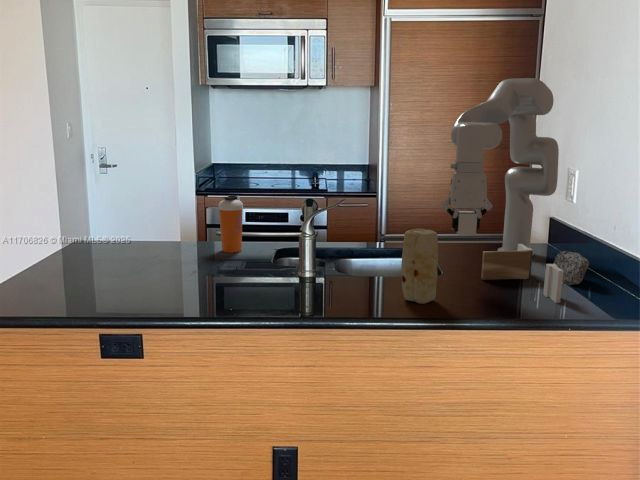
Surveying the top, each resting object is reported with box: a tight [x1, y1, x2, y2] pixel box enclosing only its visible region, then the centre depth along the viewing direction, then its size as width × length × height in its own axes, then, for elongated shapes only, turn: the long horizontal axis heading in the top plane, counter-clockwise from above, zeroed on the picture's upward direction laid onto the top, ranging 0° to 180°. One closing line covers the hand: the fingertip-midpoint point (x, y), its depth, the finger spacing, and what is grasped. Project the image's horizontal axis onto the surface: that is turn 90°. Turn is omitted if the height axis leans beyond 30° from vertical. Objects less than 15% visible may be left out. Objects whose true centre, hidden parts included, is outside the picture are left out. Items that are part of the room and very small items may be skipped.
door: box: [480, 250, 534, 281], centre depth 181 cm, size 3×16×9 cm, turn 96°
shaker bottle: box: [218, 195, 244, 254], centre depth 213 cm, size 9×9×20 cm
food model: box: [400, 228, 439, 305], centre depth 158 cm, size 10×7×20 cm
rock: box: [552, 250, 590, 286], centre depth 180 cm, size 16×8×10 cm, turn 173°
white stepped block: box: [455, 210, 477, 236], centre depth 170 cm, size 8×5×6 cm, turn 0°
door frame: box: [517, 244, 563, 304], centre depth 174 cm, size 2×33×9 cm, turn 0°
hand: (465, 230), depth 169 cm, fingers closed on white stepped block, 5 cm apart
